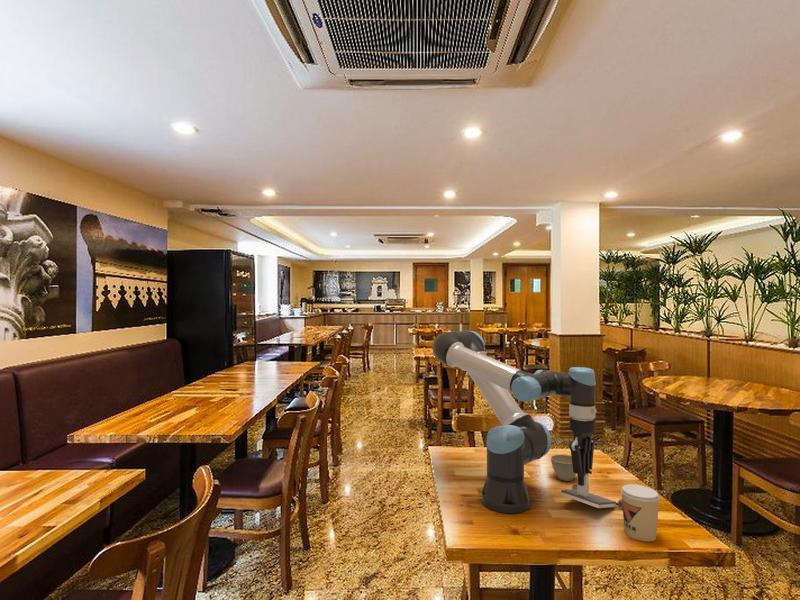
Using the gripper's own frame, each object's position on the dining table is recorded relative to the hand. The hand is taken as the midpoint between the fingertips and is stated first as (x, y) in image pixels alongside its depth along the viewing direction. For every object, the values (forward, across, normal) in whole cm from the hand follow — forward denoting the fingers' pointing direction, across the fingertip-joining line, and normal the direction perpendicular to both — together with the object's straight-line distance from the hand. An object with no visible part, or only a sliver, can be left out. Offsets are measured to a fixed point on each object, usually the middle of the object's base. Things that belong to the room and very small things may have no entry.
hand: (583, 494), depth 134 cm
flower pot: (+5, +20, +16) cm, 26 cm away
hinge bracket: (+5, +11, 0) cm, 12 cm away
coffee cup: (+5, -1, -17) cm, 18 cm away
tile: (+1, +4, 0) cm, 4 cm away
